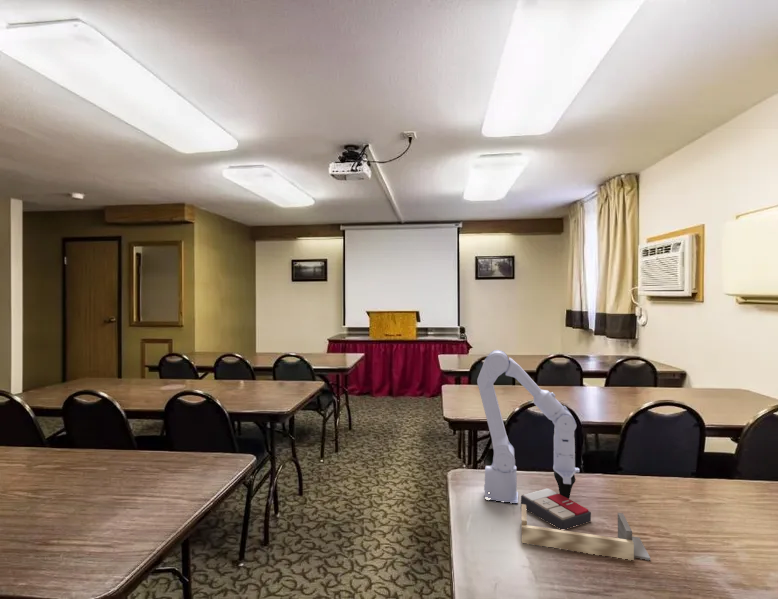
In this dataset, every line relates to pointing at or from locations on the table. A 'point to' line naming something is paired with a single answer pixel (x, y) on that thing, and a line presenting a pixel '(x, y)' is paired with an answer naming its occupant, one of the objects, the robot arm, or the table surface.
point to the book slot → (586, 540)
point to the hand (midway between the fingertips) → (564, 499)
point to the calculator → (555, 508)
